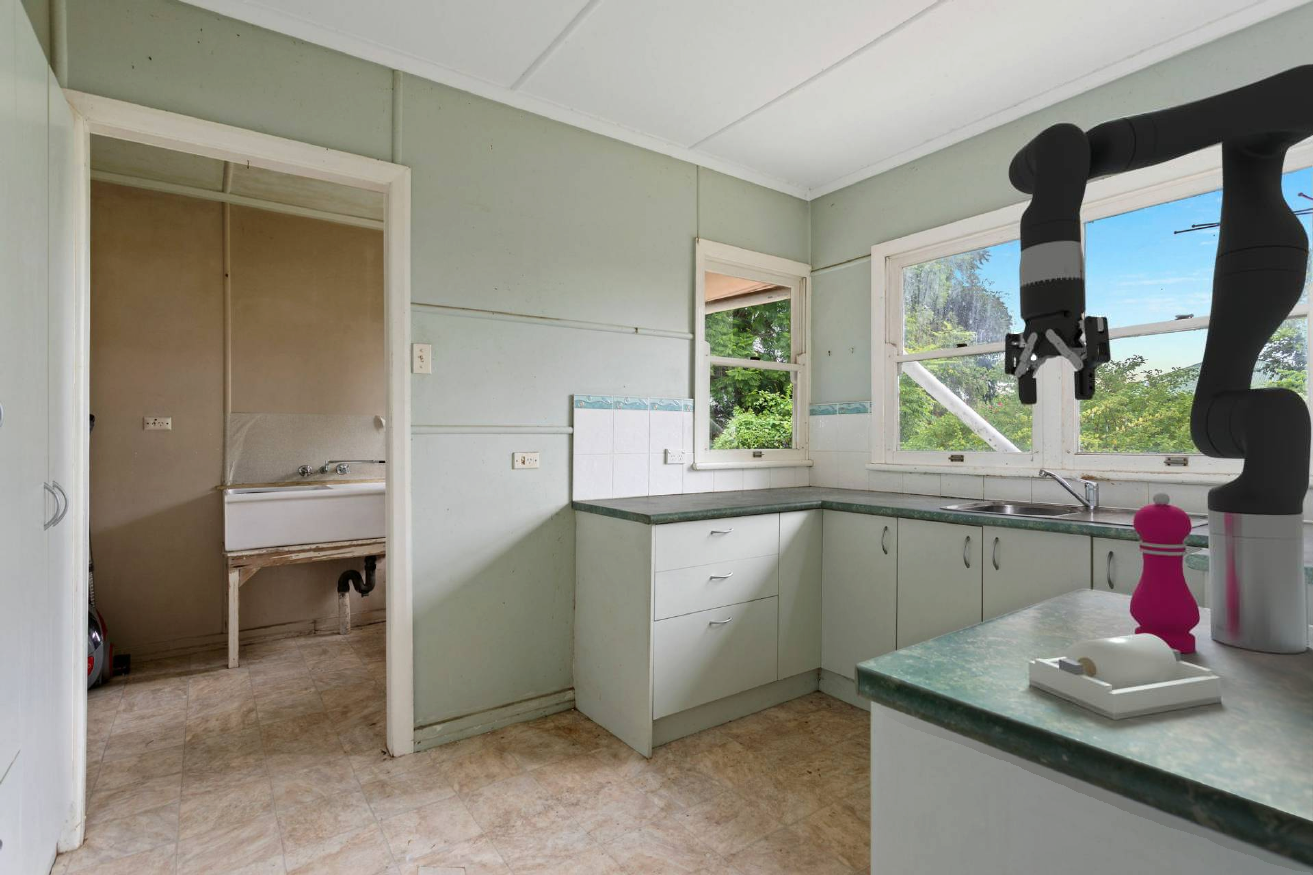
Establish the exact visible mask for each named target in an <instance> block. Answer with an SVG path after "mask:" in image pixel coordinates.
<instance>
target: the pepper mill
mask: <svg viewBox="0 0 1313 875" xmlns="http://www.w3.org/2000/svg"><path fill="white" fill-rule="evenodd" d="M1170 500H1171V498H1170V495H1169V494H1167V493H1165V492H1164V491H1163V492H1162V491H1161V492H1160V491H1158V492H1156V493H1155V494H1153V496H1152V501H1153V502H1154V504H1148V505H1145V506H1143V507H1141V508H1140V509H1138V510H1137V512H1135V515H1134V517H1133V522H1132V523H1133V528H1134V531H1135V532H1136V533H1137V534H1138V536H1140V538H1141V540H1139V541H1138V545H1139V548H1138V551H1139V553H1140V552H1141V553H1142V561H1143V562H1142V563H1143V564H1142V565H1143V566H1142V573H1141V577H1140V578H1139V579H1140V580H1139V582H1138V583H1137V586H1135V590H1134V591H1133V593H1132V594H1131V598H1130V603H1129V613H1130V616H1131V617H1132V618H1133V619H1134V620H1135V621H1136V623H1137V624H1138V625H1139V626H1137V627H1136V628H1134V635H1135V634H1144V633H1147V634H1152V635H1155V636H1157V637H1159V638H1161V639H1162V640H1163V641H1164V642H1166V643H1167V645H1168V646H1169V647H1170V648H1172V649H1175V650H1179V651H1180V654H1189V653H1193V652H1195V651H1196V636H1195V635H1194V634H1192V633H1191V631H1192V630H1193V629H1194V628H1195V627H1197V626H1198V624H1199V622H1200V619H1201V615H1200V609H1199V606H1198V603H1197V601H1196V599H1195V598H1194V595H1193V594H1192V591H1191V590H1190V588H1189V586H1188V584H1187V582H1186V578H1185V575H1184V568H1183V564H1184V563H1183V561H1184V556H1185V555H1187V554H1188V551H1187V546H1188V544H1187V543H1185V542H1184V540H1185V539H1186V538H1187V537H1188V536H1189V535H1190V534H1191V532H1192V520H1191V518H1190V516H1189V515H1188V513H1187V512H1186V511H1185V510H1183V509H1182V508H1179V507H1177V506H1175V505H1171V504H1169V503H1170Z"/></svg>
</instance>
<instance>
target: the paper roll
mask: <svg viewBox="0 0 1313 875" xmlns="http://www.w3.org/2000/svg"><path fill="white" fill-rule="evenodd" d="M1065 657H1066V658H1067V659H1070V660H1073V661H1075V662H1078V663H1081V664H1083V672H1084V675H1086V676H1089V677H1092V678H1094V679H1097V680H1100V681H1103V682H1105V683H1108V684H1111V685H1112V690H1117V689H1123V688H1130V687H1136V686H1143V685H1149V684H1156V683H1162V682H1169V681H1171V680H1172V679H1173V677H1174V676H1175V674H1176V670H1177V662H1176V658H1175V655H1174V653H1173V651H1172V650H1171V648H1170V647H1169V646H1168V645H1167V643H1166V642H1164V641H1163V640H1162V639H1161V638H1159V637H1157V636H1155V635H1152V634H1147V633H1144V634H1135V633H1134V634H1129V635H1123V636H1122V635H1121V636H1113V637H1104V638H1097V639H1089V640H1081V641H1076V642H1074V643H1072V644H1071V645H1070V646H1069V647H1068V649H1067V651H1066V655H1065Z"/></svg>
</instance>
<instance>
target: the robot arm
mask: <svg viewBox="0 0 1313 875" xmlns="http://www.w3.org/2000/svg"><path fill="white" fill-rule="evenodd" d="M1310 137H1313V63H1309V64H1308V63H1307V64H1301V65H1297V66H1294V67H1292V68H1289V69H1285V70H1283V71H1281V72H1278V73H1275V74H1273V75H1270V76H1268V77H1265V78H1262V79H1260V80H1257V81H1255V82H1252V83H1248V84H1246V85H1242V86H1240V87H1237V88H1234V89H1231V90H1227V91H1225V92H1224V91H1223V92H1221V93H1218V94H1214V95H1211V96H1207V97H1203V98H1199V99H1195V100H1191V101H1189V102H1185V103H1181V104H1178V105H1173V106H1168V107H1164V108H1160V109H1154V110H1150V111H1143V112H1140V113H1135V114H1130V115H1125V116H1120V117H1117V118H1110V119H1107V120H1105V121H1103V122H1102V121H1101V122H1100V123H1097V124H1096V125H1094V126H1093V127H1090V128H1089V129H1088V130H1085V131H1084V130H1083V129H1082V128H1081V127H1080V126H1079V125H1077V124H1075V123H1072V122H1069V121H1068V122H1067V121H1066V122H1065V121H1064V122H1063V121H1061V122H1057V123H1054V124H1052V125H1050V126H1048V127H1046V128H1044V129H1043V130H1041V132H1039V133H1038V134H1037V135H1036V136H1035V137H1033V138H1032V139H1031V140H1030V141H1029V142H1028V143H1027V144H1026V145H1024V146H1023V147H1022V148H1021V149H1019V150H1018V152H1016V154H1015V155H1014V156H1013V158H1012V160H1011V162H1010V164H1009V168H1008V179H1009V181H1010V183H1011V184H1010V185H1012V186H1013V188H1015V189H1016V190H1017V191H1018V192H1021V193H1023V194H1025V195H1031V196H1032V197H1031V200H1030V202H1029V204H1028V206H1027V207H1026V209H1025V210H1024V212H1023V213H1022V215H1021V217H1020V218H1021V219H1020V223H1019V224H1020V225H1019V239H1020V260H1019V266H1018V267H1019V268H1018V274H1019V275H1018V278H1019V307H1020V308H1019V309H1020V311H1019V312H1020V318H1021V320H1022V321H1023V322H1024V330H1023V331H1022V332H1007V333H1006V335H1005V338H1004V339H1005V340H1004V343H1005V344H1004V373H1005V374H1006V375H1011V376H1013V377H1014V376H1015V377H1016V379H1017V382H1018V383H1017V389H1018V399H1019V402H1020V404H1021V405H1023V406H1025V405H1027V406H1029V405H1036V404H1037V402H1038V393H1037V391H1038V388H1037V386H1038V385H1037V378H1036V377H1035V375H1036V373H1037V372H1038V370H1039V369H1040V367H1041V366H1042V365H1044V364H1045V363H1046V361H1047V359H1055V358H1057V357H1063V358H1065V359H1066V360H1068V362H1070V364H1071V365H1072V366H1073V367H1074V369H1075V370H1076V371H1075V370H1074V371H1073V378H1074V379H1073V382H1074V399H1075V400H1076V401H1090V400H1092V399H1093V397H1094V395H1095V394H1096V369H1097V368H1098V367H1100V366H1102V365H1104V364H1109V363H1110V362H1111V359H1112V357H1111V346H1110V334H1109V320H1108V318H1107V317H1106V316H1104V315H1102V316H1101V315H1100V316H1099V315H1087V316H1086V317H1085V318H1084V319H1083V314H1085V312H1086V284H1085V283H1086V282H1085V281H1086V280H1085V258H1084V254H1083V248H1082V229H1081V228H1082V224H1081V222H1082V221H1081V209H1082V206H1083V205H1082V204H1083V201H1084V197H1085V194H1086V188H1087V182H1088V181H1090V180H1093V179H1096V178H1097V179H1098V178H1100V177H1103V176H1111V175H1116V174H1121V173H1126V172H1131V171H1136V170H1141V169H1145V168H1146V169H1147V168H1149V167H1153V166H1157V165H1161V164H1164V163H1167V162H1170V161H1173V160H1175V159H1178V158H1181V157H1183V156H1186V155H1189V154H1192V153H1194V152H1197V151H1200V150H1203V149H1205V148H1209V147H1211V146H1215V145H1218V144H1221V169H1222V172H1221V173H1222V195H1221V196H1222V199H1221V206H1220V217H1219V219H1220V221H1219V230H1218V231H1219V232H1218V233H1219V234H1218V241H1217V247H1216V254H1215V261H1214V268H1213V270H1214V271H1213V279H1212V290H1211V292H1212V293H1211V304H1210V305H1211V306H1210V314H1209V319H1208V320H1209V321H1208V328H1207V333H1206V334H1207V335H1206V342H1205V347H1204V353H1203V358H1202V361H1201V366H1200V371H1199V373H1198V379H1197V383H1196V386H1195V390H1194V395H1193V400H1192V404H1191V409H1190V414H1189V415H1190V416H1189V432H1190V438H1191V441H1192V443H1193V444H1194V446H1195V448H1196V449H1197V450H1198V452H1199V453H1201V454H1203V455H1204V456H1206V457H1208V458H1213V459H1224V460H1225V459H1226V460H1228V459H1229V460H1231V459H1232V460H1233V459H1235V460H1243V465H1242V466H1243V468H1242V471H1241V473H1240V474H1239V476H1238V477H1236V478H1235V479H1234V480H1230V482H1227V483H1223V484H1220V485H1217V486H1215V487H1212V488H1210V489H1209V490H1208V492H1207V527H1208V528H1207V531H1208V533H1207V534H1208V565H1209V566H1208V568H1209V569H1208V570H1209V572H1208V573H1209V576H1208V577H1209V613H1210V616H1209V618H1210V637H1211V638H1212V639H1213V640H1215V641H1217V642H1220V643H1223V644H1225V645H1229V646H1233V647H1237V648H1242V649H1246V650H1251V651H1258V652H1266V653H1279V654H1298V653H1303V652H1306V651H1307V647H1308V646H1310V626H1309V625H1310V624H1309V591H1308V590H1309V589H1308V588H1309V585H1308V584H1309V583H1308V573H1307V572H1306V571H1305V546H1304V545H1305V544H1304V542H1305V541H1304V517H1303V516H1304V514H1303V512H1304V505H1303V504H1304V501H1305V498H1306V496H1307V493H1308V490H1309V485H1310V469H1311V467H1310V466H1311V450H1312V449H1311V448H1312V446H1311V445H1312V420H1311V419H1312V418H1311V416H1310V410H1309V408H1308V405H1307V403H1306V402H1305V400H1304V399H1303V398H1302V395H1300V393H1298V392H1296V391H1295V390H1293V389H1289V388H1287V387H1277V386H1275V387H1274V386H1273V387H1260V388H1257V387H1256V388H1251V385H1252V379H1253V376H1254V371H1255V367H1256V364H1257V361H1258V359H1259V356H1260V354H1261V352H1262V351H1263V349H1264V348H1265V346H1266V344H1267V343H1268V342H1269V341H1270V339H1271V338H1272V336H1273V335H1275V333H1276V331H1277V330H1278V329H1279V327H1280V326H1281V325H1283V323H1284V321H1285V320H1286V319H1287V318H1288V316H1289V315H1290V314H1291V313H1292V311H1293V310H1294V308H1296V305H1297V304H1298V302H1299V301H1300V298H1301V297H1302V294H1303V292H1304V288H1305V286H1306V279H1307V278H1306V277H1307V269H1308V260H1309V253H1310V252H1309V250H1310V248H1309V246H1310V245H1309V244H1310V242H1309V237H1308V234H1307V231H1306V228H1305V227H1304V225H1303V223H1302V222H1301V220H1300V219H1299V217H1298V216H1297V215H1296V213H1295V212H1294V211H1293V210H1292V208H1291V207H1290V206H1289V204H1288V203H1287V201H1286V199H1285V197H1284V193H1283V188H1282V187H1283V186H1282V182H1283V169H1284V165H1285V164H1284V163H1285V159H1286V154H1287V152H1288V150H1289V149H1290V148H1292V147H1293V146H1296V145H1297V144H1299V143H1301V142H1303V141H1304V140H1306V139H1309V138H1310ZM1083 334H1084V336H1085V339H1084V340H1085V342H1084V340H1082V336H1083Z"/></svg>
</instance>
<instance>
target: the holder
mask: <svg viewBox="0 0 1313 875" xmlns="http://www.w3.org/2000/svg"><path fill="white" fill-rule="evenodd" d="M1171 650H1172V651H1173V653H1174V655H1175V658H1176V662H1177V670H1176V674H1175V676H1174V677H1173V679H1172V680H1171V681H1169V682H1162V683H1156V684H1149V685H1143V686H1136V687H1130V688H1123V689H1117V690H1112V685H1111V684H1108V683H1105V682H1103V681H1100V680H1097V679H1094V678H1092V677H1089V676H1086V675H1084V672H1083V664H1081V663H1078V662H1075V661H1073V660H1070V659H1067V658H1066V656H1061V657H1051V658H1046V659H1045V658H1035V659H1034V660H1030V661H1028V677H1029V678H1028V679H1029V680H1028V682H1029V685H1030V686H1033V687H1035V688H1038V689H1039V690H1040V689H1041V690H1043V691H1045V692H1046V693H1049V694H1051V695H1054V696H1057V697H1059V698H1061V699H1064V700H1066V701H1069V703H1073V704H1075V705H1078V706H1080V707H1083V708H1085V709H1087V710H1090V711H1092V712H1094V713H1096V714H1099V715H1101V716H1104V717H1106V718H1108V719H1110V720H1113V721H1118V720H1122V719H1128V718H1129V719H1130V718H1134V717H1135V718H1136V717H1141V716H1146V715H1152V714H1153V715H1154V714H1158V713H1159V714H1160V713H1164V712H1169V711H1176V710H1182V709H1189V708H1193V707H1200V706H1205V705H1211V704H1216V703H1221V702H1222V686H1221V684H1222V683H1221V682H1222V681H1221V677H1220V676H1217V675H1214V674H1213V670H1212V669H1210V668H1207V667H1203V666H1200V665H1196V664H1193V663H1191V662H1186V661H1183V660H1181V653H1180V651H1179V650H1175V649H1172V648H1171Z"/></svg>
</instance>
